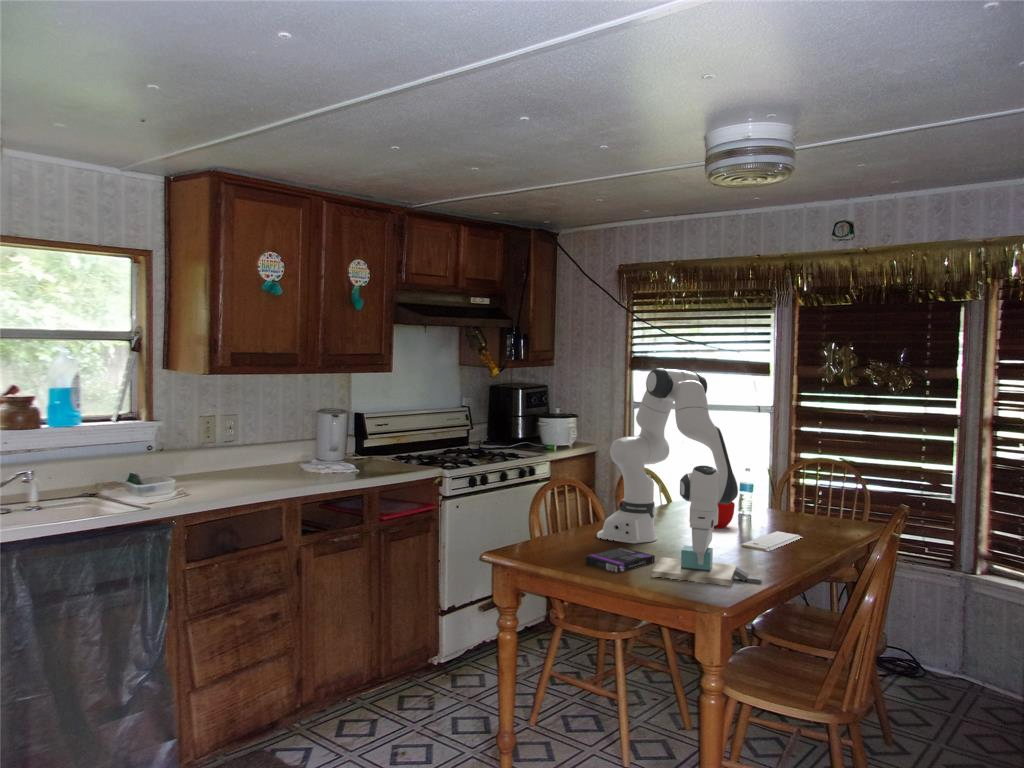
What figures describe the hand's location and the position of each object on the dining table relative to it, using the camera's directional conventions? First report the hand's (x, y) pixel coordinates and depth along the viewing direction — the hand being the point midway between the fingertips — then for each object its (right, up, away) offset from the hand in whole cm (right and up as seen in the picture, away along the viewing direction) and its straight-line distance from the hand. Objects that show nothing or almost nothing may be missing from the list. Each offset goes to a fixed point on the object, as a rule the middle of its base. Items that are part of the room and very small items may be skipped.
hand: (702, 561), depth 253 cm
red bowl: (+24, -2, +74) cm, 78 cm away
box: (-24, -4, +13) cm, 28 cm away
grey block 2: (+15, -4, -6) cm, 16 cm away
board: (-2, -4, +1) cm, 5 cm away
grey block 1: (+11, -4, -4) cm, 12 cm away
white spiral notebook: (+38, -4, +46) cm, 60 cm away
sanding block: (-2, -2, +1) cm, 3 cm away
